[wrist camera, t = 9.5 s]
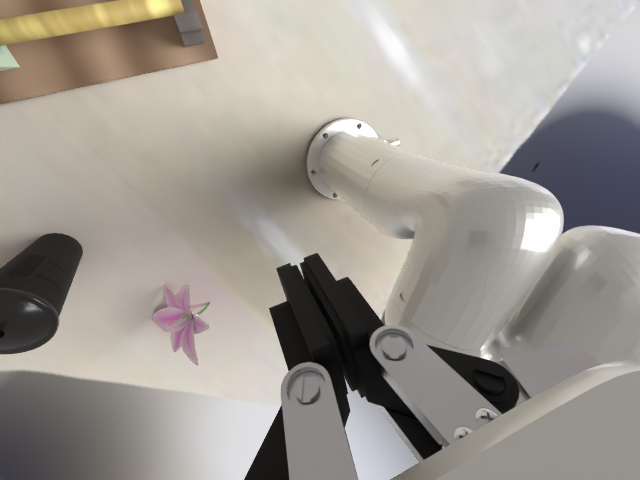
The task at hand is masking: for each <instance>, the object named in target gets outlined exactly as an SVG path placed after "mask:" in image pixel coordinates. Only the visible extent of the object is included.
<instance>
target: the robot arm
mask: <svg viewBox="0 0 640 480" xmlns="http://www.w3.org/2000/svg"><path fill="white" fill-rule="evenodd" d="M357 124H358V126H357ZM356 126H357V127H356ZM323 134H325V135H324V136H323ZM399 144H400V143H399V140H398V139H397V138H395V139H391V140H389V141H387V142H386V141H385V140H383V139H380V138H378V136H377V134H376V133H375V131H374V130H373V129H372V128H371V127H370V126H369V125H368V124H366V123H365V122H363V121H360V120H357V119H352V118H342V119H338V120H335V121H333V122H331V123H329V124H327V125H326V126H325V127H324V128H322V129H321V130H320V131H319V132H318V134H317V135H316V136H315V138H314V139H313V141H312V143H311V145H310V148H309V150H308V154H307V164H306V167H307V173H308V176H309V179H310V182H311V183H312V185H313V186H314V188H315V189H316V190H317V191H318V192H320V193H321V194H322V195H323V196H325V197H327V198H330V199H333V200H344V201H345V202H346V203H347V204H348V205H349V206H351V207H352V208H353V209H354V210H355V211H356V212H358V213H359V214H360V215H361V216H362V217H363V218H365V219H366V220H367V221H368V222H369V223H370V224H372V225H373V226H374V227H375V228H376V229H377V230H379V231H380V232H382V233H383V234H385V235H387V236H389V237H392V238H397V239H413V242H412V245H411V247H410V250H409V252H408V256H407V258H406V260H405V262H404V265H403V267H402V269H401V271H400V274H399V276H398V278H397V280H396V283H395V285H394V287H393V290H392V292H391V295H390V297H389V300H388V302H387V306H386V310H385V323H386V325H385V326H384V324H383V323H382V322H381V320H380V319H379V317H378V316H377V315H376V313H375V312H374V311H373V309H372V308H371V307H370V305H369V304H368V303H367V301H366V300H365V299H364V297H363V296H362V295H361V293H360V292H359V291H358V289H357V288H356V287H355V285H354V284H353V283H352V281H351V280H350V279H349V278H348V277H346V278H343V279H341V280H338V281H336V280H335V278H334V277H333V275H332V274H331V272H330V271H329V269H328V268H327V266H326V265H325V263H324V262H323V261H322V259H321V258H320V256H319V255H318V253H316V254H313V255H310V256H308V257H305V258H304V262H302V263H300V266H301V269H302V273H303V277H304V278H303V277H302V275H301V273H300V271H299V269H298V267H297V265H294V266H292V267H291V265H290V263H289V264H286V265H284V266H281V267H278V268H276V269H277V272H278V275H279V278H280V281H281V284H282V287H283V290H284V293H285V295H286V298H287V301H286V302H284V303H281V304H279V305H276V306H274V307H271V308H269V309H270V313H271V316H272V319H273V322H274V326H275V329H276V332H277V335H278V338H279V342H280V345H281V348H282V351H283V354H284V358H285V361H286V364H287V367H288V370H289V372H288V373H287V375H286V376H285V377H284V379H283V382H282V385H281V401H282V405H281V407H280V410H279V411H278V414H277V416H276V417H275V419H274V421H273V423H272V425H271V427H270V429H269V431H268V433H267V435H266V437H265V439H264V441H263V443H262V445H261V447H260V449H259V451H258V453H257V455H256V457H255V459H254V461H253V463H252V465H251V467H250V469H249V471H248V473H247V475H246V477H245V479H244V480H358V477H357V473H356V469H355V465H354V461H353V458H352V454H351V450H350V447H349V443H348V439H347V435H346V431H345V425H346V422H347V419H348V416H349V413H350V408H349V403H348V399H347V395H346V394H348V392H347V387H346V382H345V379H346V381H347V383H348V384H349V387H350V388H351V390H352V391H355V390H358V392H359V394H360V396H361V398H363V397H364V396H365V397H366V399H367V401H368V402H371V403H374V404H377V405H379V408H380V410H381V411H382V413H383V414H384V415H385V417H386V418H387V419H388V421H389V422H390V423H391V425H392V426H393V427H394V429H395V430H396V432H397V433H398V434H399V436H400V437H401V438H402V440H403V441H404V442H405V444H406V445H407V446H408V448H409V449H410V450H411V452H412V453H413V454H414V456H415V457H416V459H417V460H418V461H419V463H418V464H416V465H415V466H413V467H411V468H410V469H408V470H406V471H404V472H403V473H401V474H399V475H397V476H396V477H394V478H392V479H391V480H640V234H637V233H633V232H629V231H625V230H621V229H617V228H611V227H604V226H582V227H576V228H573V229H570V230H568V231H567V232H565V233H564V234H562V229H563V221H564V218H563V211H562V208H561V206H560V203H559V202H558V200H557V199H556V198H555V196H554V195H553V194H552V193H551V192H549V191H548V190H546V189H545V188H543V187H541V186H540V185H538V184H535V183H533V182H530V181H527V180H525V179H522V178H517V177H513V176H509V175H505V174H499V173H492V172H486V171H480V170H473V169H468V168H463V167H458V166H454V165H450V164H447V163H443V162H440V161H437V160H434V159H431V158H428V157H425V156H423V155H420V154H417V153H414V152H411V151H408V150H406V149H403V148H400V147H399ZM312 170H313V172H312ZM333 193H334V194H333ZM344 377H345V378H344Z"/></svg>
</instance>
